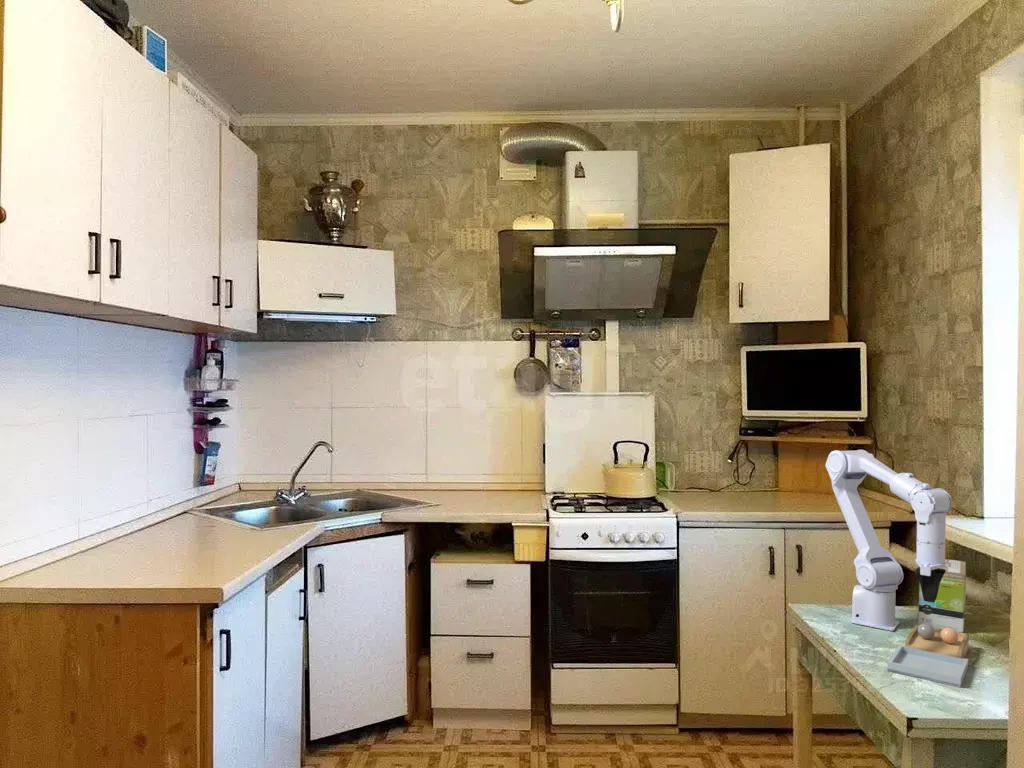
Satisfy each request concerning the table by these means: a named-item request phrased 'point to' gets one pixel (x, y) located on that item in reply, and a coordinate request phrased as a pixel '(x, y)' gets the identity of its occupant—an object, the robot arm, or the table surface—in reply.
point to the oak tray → (938, 643)
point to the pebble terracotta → (949, 635)
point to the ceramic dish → (928, 666)
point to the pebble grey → (926, 631)
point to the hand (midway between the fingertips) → (929, 600)
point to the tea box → (946, 600)
